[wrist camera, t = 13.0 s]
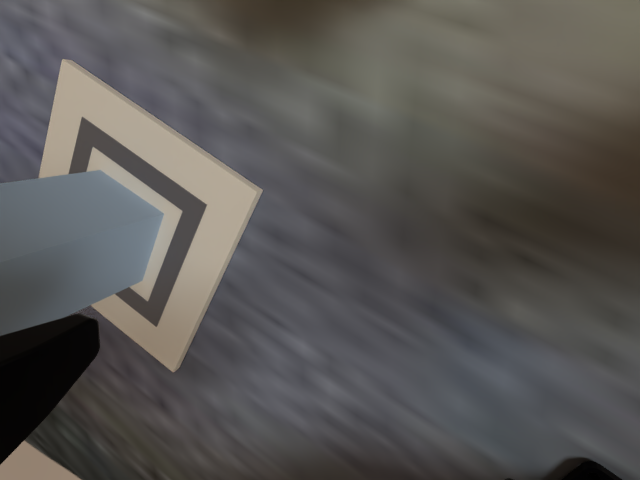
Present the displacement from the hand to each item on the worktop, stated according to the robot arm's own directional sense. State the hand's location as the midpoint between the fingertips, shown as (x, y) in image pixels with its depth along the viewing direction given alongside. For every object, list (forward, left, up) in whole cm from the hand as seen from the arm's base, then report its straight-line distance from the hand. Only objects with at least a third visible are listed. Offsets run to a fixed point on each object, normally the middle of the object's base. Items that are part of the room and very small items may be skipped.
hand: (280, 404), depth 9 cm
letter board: (-9, +14, -12) cm, 21 cm away
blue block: (-9, +14, -12) cm, 21 cm away
